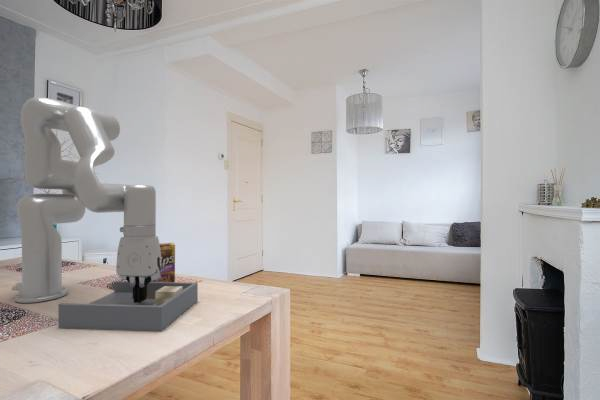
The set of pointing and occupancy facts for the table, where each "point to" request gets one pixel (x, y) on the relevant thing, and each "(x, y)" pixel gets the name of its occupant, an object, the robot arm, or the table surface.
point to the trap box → (129, 309)
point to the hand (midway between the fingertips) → (139, 301)
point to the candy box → (167, 263)
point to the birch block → (166, 294)
